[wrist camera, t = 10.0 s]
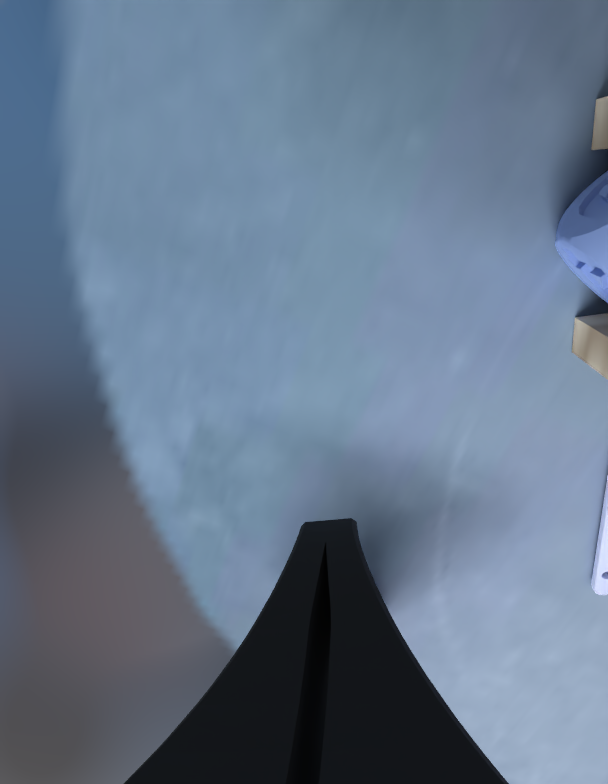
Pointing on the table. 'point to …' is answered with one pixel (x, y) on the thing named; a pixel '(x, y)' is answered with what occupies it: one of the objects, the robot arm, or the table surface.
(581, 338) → the block structure
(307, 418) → the table surface
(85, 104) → the table surface
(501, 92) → the table surface
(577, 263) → the decorative dice
